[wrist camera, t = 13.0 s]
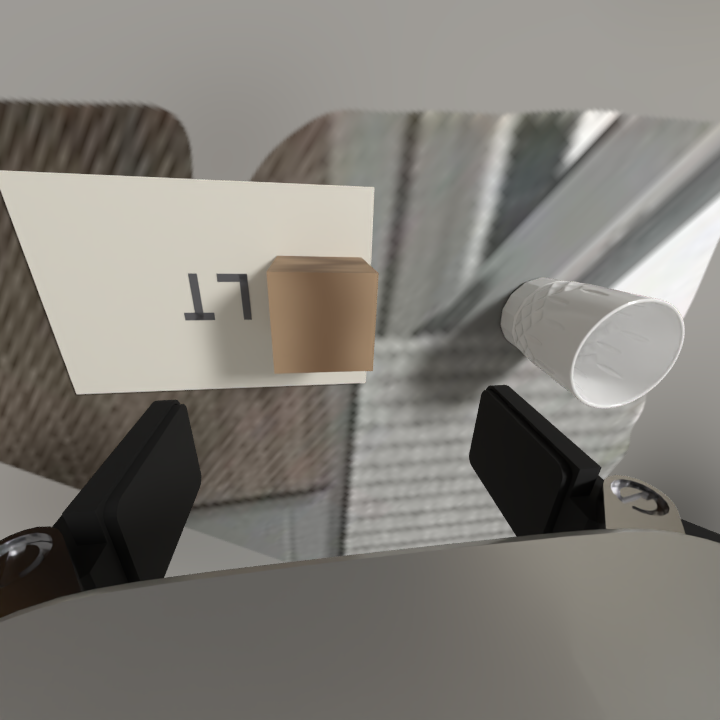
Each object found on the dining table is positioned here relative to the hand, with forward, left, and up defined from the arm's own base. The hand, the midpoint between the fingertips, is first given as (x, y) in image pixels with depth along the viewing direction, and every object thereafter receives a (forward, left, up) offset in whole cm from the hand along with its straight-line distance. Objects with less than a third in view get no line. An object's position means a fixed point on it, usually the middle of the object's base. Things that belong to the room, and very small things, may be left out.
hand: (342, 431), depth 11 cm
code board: (+3, +8, -18) cm, 20 cm away
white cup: (-9, -18, -19) cm, 27 cm away
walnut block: (0, 0, -18) cm, 18 cm away
